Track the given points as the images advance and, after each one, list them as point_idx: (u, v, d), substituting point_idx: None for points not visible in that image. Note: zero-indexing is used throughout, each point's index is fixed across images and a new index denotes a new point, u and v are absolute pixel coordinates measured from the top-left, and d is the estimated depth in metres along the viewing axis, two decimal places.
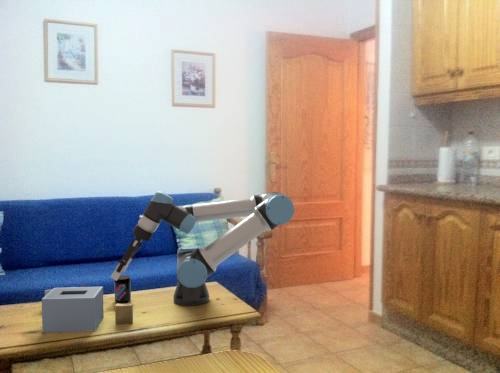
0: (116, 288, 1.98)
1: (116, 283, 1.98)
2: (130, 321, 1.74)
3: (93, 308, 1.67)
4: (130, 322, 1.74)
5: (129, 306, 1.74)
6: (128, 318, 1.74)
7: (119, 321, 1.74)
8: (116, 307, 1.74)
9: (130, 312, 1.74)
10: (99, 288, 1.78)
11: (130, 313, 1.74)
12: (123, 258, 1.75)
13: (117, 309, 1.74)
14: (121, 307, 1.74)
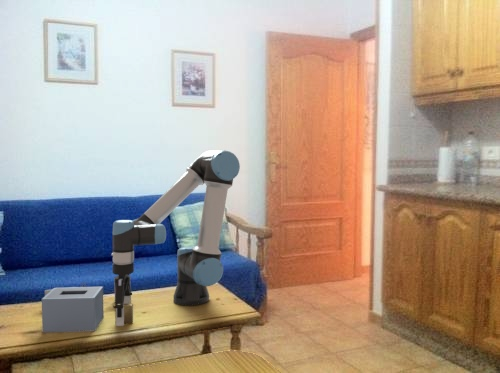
0: None
1: None
2: (130, 321, 1.74)
3: (93, 308, 1.67)
4: (130, 322, 1.74)
5: (129, 306, 1.74)
6: (128, 318, 1.74)
7: None
8: None
9: (130, 312, 1.74)
10: (99, 288, 1.78)
11: (130, 313, 1.74)
12: (116, 302, 1.65)
13: None
14: None
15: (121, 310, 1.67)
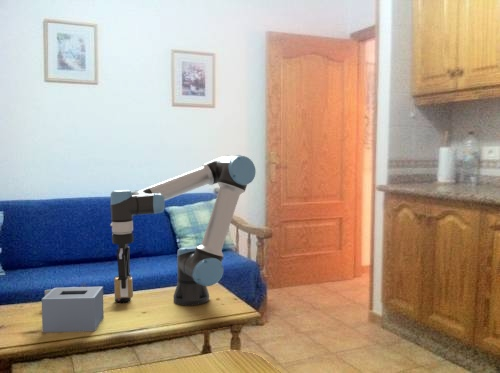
0: None
1: None
2: (130, 294, 1.74)
3: (93, 308, 1.67)
4: (130, 295, 1.74)
5: (129, 279, 1.74)
6: None
7: (118, 295, 1.74)
8: (116, 280, 1.73)
9: (130, 285, 1.74)
10: (99, 288, 1.78)
11: (130, 286, 1.74)
12: (120, 275, 1.69)
13: (117, 283, 1.73)
14: None
15: (125, 281, 1.72)
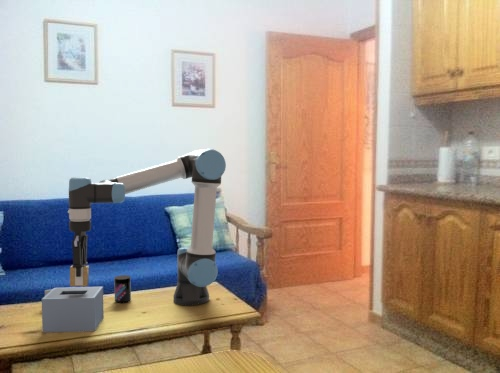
0: (116, 288, 1.98)
1: (116, 283, 1.98)
2: (85, 283, 1.72)
3: (93, 308, 1.67)
4: (85, 284, 1.72)
5: (84, 268, 1.71)
6: None
7: (73, 283, 1.71)
8: (71, 268, 1.71)
9: (85, 274, 1.71)
10: (99, 288, 1.78)
11: (85, 275, 1.71)
12: (74, 262, 1.67)
13: (72, 271, 1.71)
14: None
15: (80, 269, 1.70)
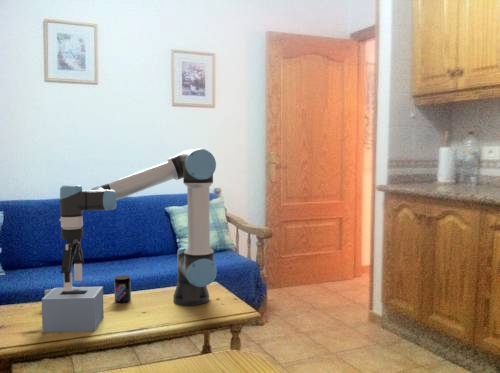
0: (116, 288, 1.98)
1: (116, 283, 1.98)
2: None
3: (93, 308, 1.67)
4: None
5: None
6: None
7: None
8: None
9: None
10: (99, 288, 1.78)
11: None
12: (63, 267, 1.63)
13: None
14: None
15: (69, 275, 1.65)
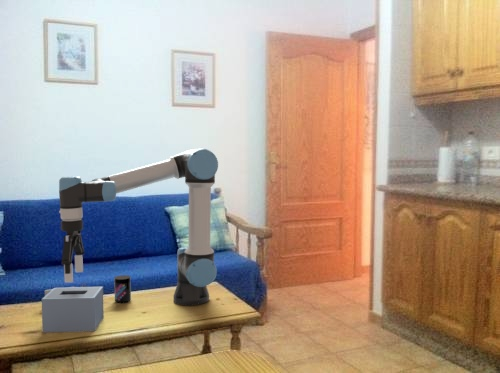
0: (116, 288, 1.98)
1: (116, 283, 1.98)
2: None
3: (93, 308, 1.67)
4: None
5: None
6: None
7: None
8: None
9: None
10: (99, 288, 1.78)
11: None
12: (63, 258, 1.62)
13: None
14: None
15: (69, 266, 1.65)
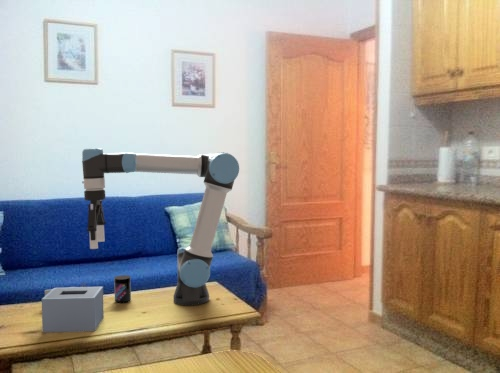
0: (116, 288, 1.98)
1: (116, 283, 1.98)
2: None
3: (93, 308, 1.67)
4: None
5: None
6: None
7: None
8: None
9: None
10: (99, 288, 1.78)
11: None
12: (89, 225, 1.70)
13: None
14: None
15: (94, 233, 1.72)
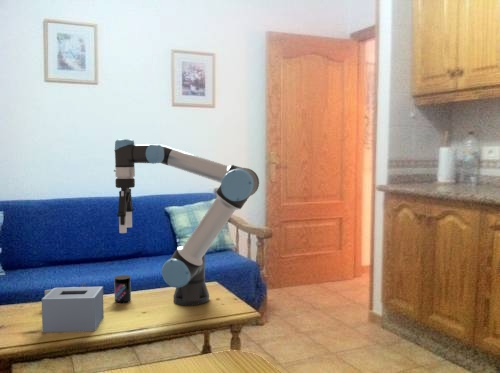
0: (116, 288, 1.98)
1: (116, 283, 1.98)
2: None
3: (93, 308, 1.67)
4: None
5: None
6: None
7: None
8: None
9: None
10: (99, 288, 1.78)
11: None
12: (119, 210, 1.82)
13: None
14: None
15: (124, 218, 1.84)
